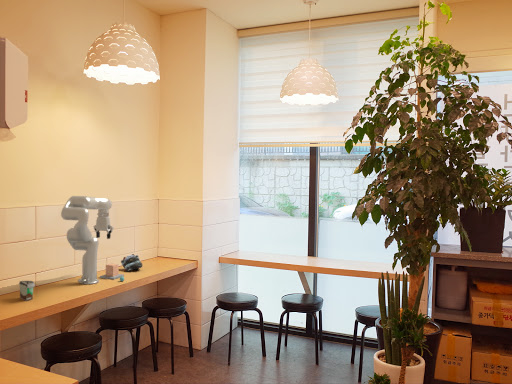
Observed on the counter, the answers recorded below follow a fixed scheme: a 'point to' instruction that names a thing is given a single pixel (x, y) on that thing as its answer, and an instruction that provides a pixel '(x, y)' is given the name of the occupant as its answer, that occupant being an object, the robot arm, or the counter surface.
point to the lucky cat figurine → (131, 262)
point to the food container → (26, 290)
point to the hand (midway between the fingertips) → (103, 238)
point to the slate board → (111, 276)
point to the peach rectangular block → (112, 269)
